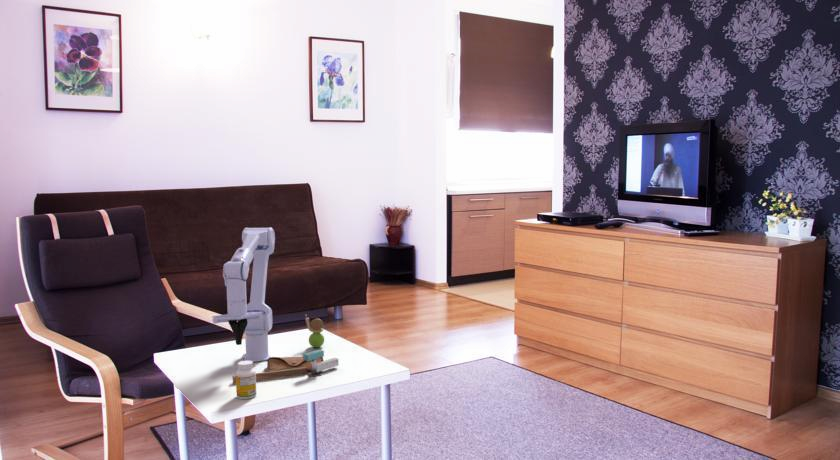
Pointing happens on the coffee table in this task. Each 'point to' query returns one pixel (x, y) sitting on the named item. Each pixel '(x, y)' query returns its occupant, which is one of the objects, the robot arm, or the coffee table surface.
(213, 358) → the coffee table surface
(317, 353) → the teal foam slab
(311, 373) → the lock plate
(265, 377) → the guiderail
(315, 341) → the snail figurine
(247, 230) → the robot arm
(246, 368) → the supplement bottle
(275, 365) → the sunglasses case
